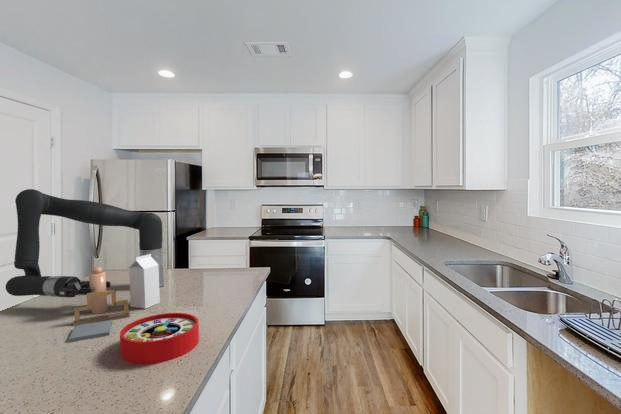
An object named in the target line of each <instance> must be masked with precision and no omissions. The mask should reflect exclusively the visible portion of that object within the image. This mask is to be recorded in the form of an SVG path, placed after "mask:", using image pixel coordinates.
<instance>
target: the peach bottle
mask: <svg viewBox="0 0 621 414" xmlns="http://www.w3.org/2000/svg"><path fill="white" fill-rule="evenodd" d="M106 272H107V271H103V268H102V266H93V267H92V272H90V273H89V274H88V278H89V280H88V281H89V282H90V288H91V289H92V292H100V291H107V288H106V281H107V273H106ZM107 298H108V295H104V296H96V297H92V309H90V313H91V314H93V315H96V314H102V313H105V312H107V311H108V299H107Z"/></svg>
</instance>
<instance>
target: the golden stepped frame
mask: <svg viewBox="0 0 621 414" xmlns="http://www.w3.org/2000/svg"><path fill="white" fill-rule="evenodd" d="M116 292H117V290H116V289H109V290H106V291H100V292H92V293H87V295H86V304H85V305H79V306H78V305H77V306H74V320H73V323H72V326H74V327H75V326H80V325H86V324H92V323H98V322H104V321H111V320H112V321H113V320H119V319H124V318H130V317H131V311H130V310H129V299H127V298H126V299H122V300H121V299H120V300H117V293H116ZM104 295H107V296H108V295H110V296H111V306H112V307H114V306H121V305H123V311H122V312H116V313H110V314H104V315H96V316H91V317H84V318H83V317H82V318H81V312H82V311H88V310H91V309H92V297H96V296H104Z"/></svg>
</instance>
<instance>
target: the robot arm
mask: <svg viewBox="0 0 621 414" xmlns="http://www.w3.org/2000/svg"><path fill="white" fill-rule="evenodd" d="M15 207H16V214H17V216H16V217H17V234H16V235H17V236H16V244H15V252H14V263H13V264H14V268H15V269H17V270H22V271H23V272H24V275H18V276H14V277H11V278H10V279H9V280H8V281H7V282H6V284H5V290H6V293H8V295H11V296H14V297H27V296H42V297H43V296H45V297H47V296H48V297H53V298H74V297H76V296H87V293H92V289H91V288H90V282H89V280H81V279H80V278H79V277H77V276H69V275H56V276H52V275H51V276H50V275H45V276H44V275H43V276H42V273H41V268H40V266H39V259H40V247H41V246H40V245H41V244H40V221H41V218H42V217H41V216H42V215H43V216H44V215H46V216H47V215H48V216H55V217H62V218H66V219H68V220H73V221H75V222H76V221H77V222H80V223H84V224H89V225H90V224H91V225H95V226H96V225H97V226H104V227H126V228H129V229H130V228H131V229H134V230H138V237H139V243H138V244H139V245H138V246H139V256H144V255H148V254H151V257H152V258H153V259H154V260H155V261H156V262H157V264H158V269H159V288H160V287H162V288H163V287H164V286H165V282H164V279H165V277H164V264H163V261H164V260H163V222H162V219H161V217H160V216H159V215H158V214H156V213H154V212H145V211H143V212H141V211H134V210H130V209H129V210H127V209H124V208H121V207H118V206H114V205H111V204H107V203H103V202H97V201H92V200H91V201H90V200H83V199H69V198H67V199H66V198H61V197H58V196H53V195H49V194H46V193H43V192H41V191H39V190H37V189H34V188H33V189H32V188H30V189H29V188H28V189H23V190H21V191H20V192H18V194H17V195H16V197H15ZM111 286H112V283H111V281H107V280H106V289H109V288H111Z"/></svg>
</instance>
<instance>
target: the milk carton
mask: <svg viewBox="0 0 621 414" xmlns="http://www.w3.org/2000/svg"><path fill="white" fill-rule="evenodd" d="M128 274H129V275H128V276H129V297H130V298H129V299H130V307H131V308H137V309H142V310H143V309H144V310H145V309H148V308H151V307H153V306H155V305H157V304H160V303H161V300H160V295H161V294H160V287H159V269H158V264H157V262H156V261H155V260H154V259H153V258H152V257H151V254H148V255H144V256H140V255H139V256H135V260H134V262H133V263H132V264H130V266H129V267H128Z"/></svg>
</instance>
